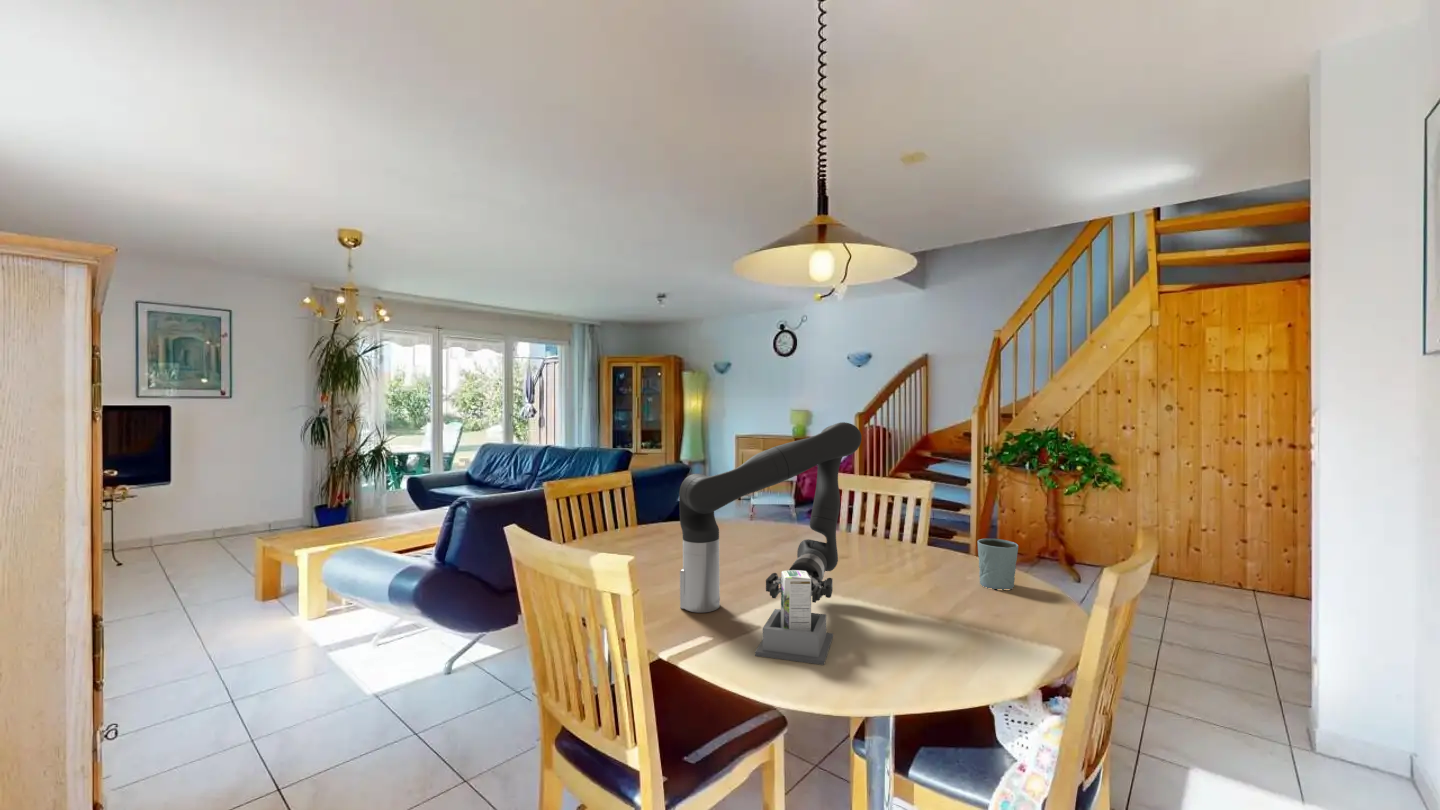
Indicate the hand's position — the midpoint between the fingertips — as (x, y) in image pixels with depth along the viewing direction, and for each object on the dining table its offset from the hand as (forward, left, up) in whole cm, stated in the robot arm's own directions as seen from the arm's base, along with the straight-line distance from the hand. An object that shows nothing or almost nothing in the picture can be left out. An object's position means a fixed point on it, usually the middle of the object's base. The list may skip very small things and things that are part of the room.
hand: (793, 595), depth 122 cm
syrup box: (0, +2, -11) cm, 11 cm away
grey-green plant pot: (+46, +57, -12) cm, 74 cm away
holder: (0, +2, -11) cm, 11 cm away
